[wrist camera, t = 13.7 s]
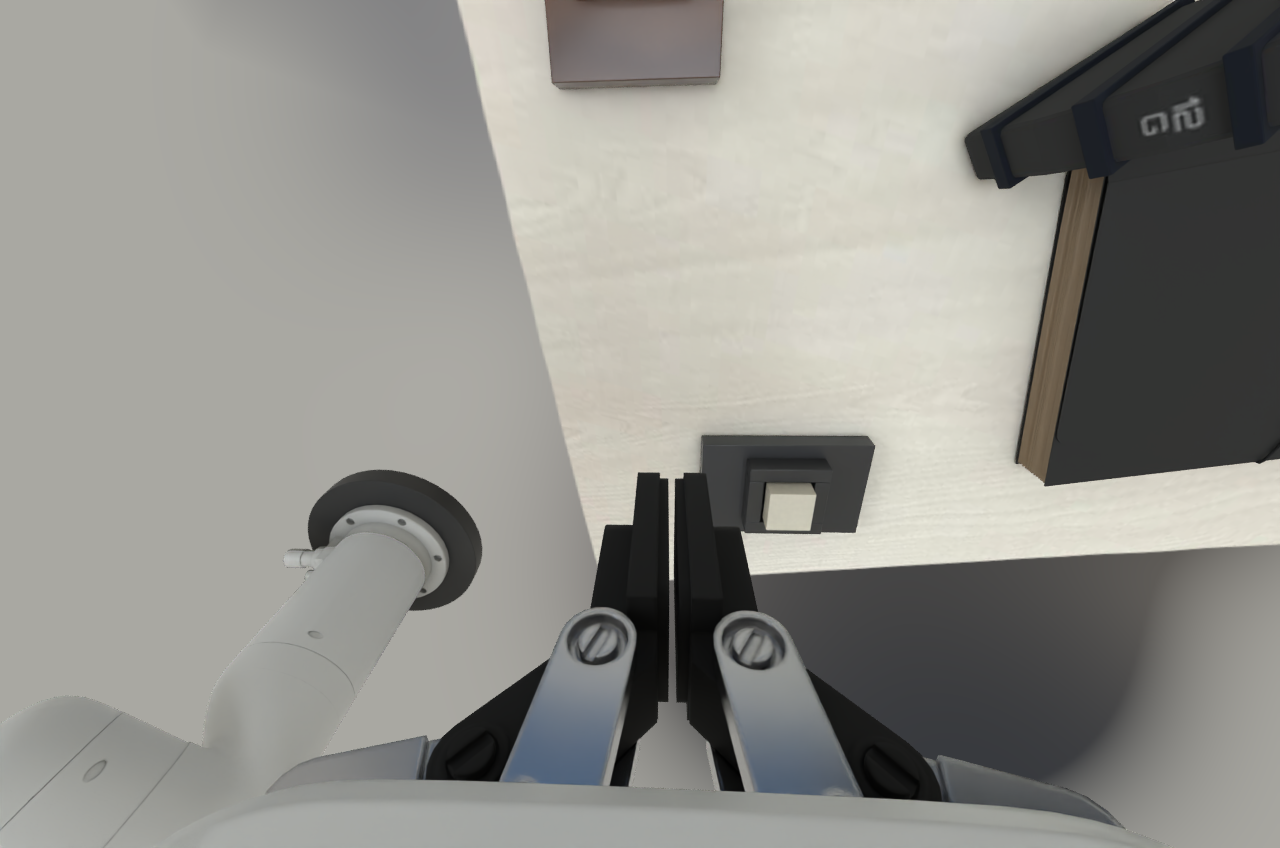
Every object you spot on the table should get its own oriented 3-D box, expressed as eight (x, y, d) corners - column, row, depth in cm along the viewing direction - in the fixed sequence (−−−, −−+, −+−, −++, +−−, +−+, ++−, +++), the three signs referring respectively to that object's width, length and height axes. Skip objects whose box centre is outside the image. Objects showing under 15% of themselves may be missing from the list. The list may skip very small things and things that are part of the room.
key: (762, 517, 41) (765, 530, 40) (766, 482, 40) (770, 494, 38) (804, 517, 41) (810, 530, 39) (810, 482, 39) (816, 494, 38)
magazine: (921, 163, 30) (1304, 26, 16) (1059, 51, 32) (1515, -161, 18) (941, 217, 31) (1312, 133, 17) (1073, 107, 33) (1508, -50, 19)
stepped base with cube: (698, 519, 45) (700, 543, 42) (701, 435, 41) (704, 455, 38) (849, 521, 45) (862, 546, 42) (867, 436, 41) (884, 457, 38)
